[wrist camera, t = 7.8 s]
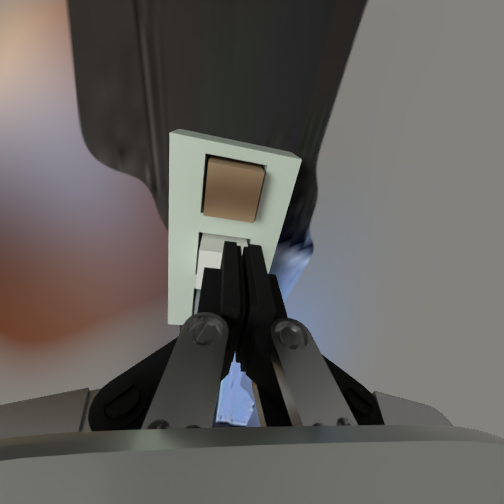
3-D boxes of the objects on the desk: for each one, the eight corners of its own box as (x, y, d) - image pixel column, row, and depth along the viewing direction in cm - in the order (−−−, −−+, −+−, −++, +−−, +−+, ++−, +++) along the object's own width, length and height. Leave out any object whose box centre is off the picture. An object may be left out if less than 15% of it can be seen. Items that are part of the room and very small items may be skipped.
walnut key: (211, 154, 23) (208, 161, 19) (259, 163, 24) (264, 172, 20) (206, 201, 25) (203, 215, 22) (250, 208, 26) (253, 222, 23)
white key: (202, 231, 25) (199, 250, 22) (246, 237, 26) (249, 256, 23) (199, 267, 28) (195, 288, 25) (239, 272, 29) (240, 292, 25)
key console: (179, 128, 23) (169, 132, 19) (290, 152, 25) (301, 159, 21) (174, 300, 35) (167, 324, 31) (249, 306, 37) (252, 329, 33)
